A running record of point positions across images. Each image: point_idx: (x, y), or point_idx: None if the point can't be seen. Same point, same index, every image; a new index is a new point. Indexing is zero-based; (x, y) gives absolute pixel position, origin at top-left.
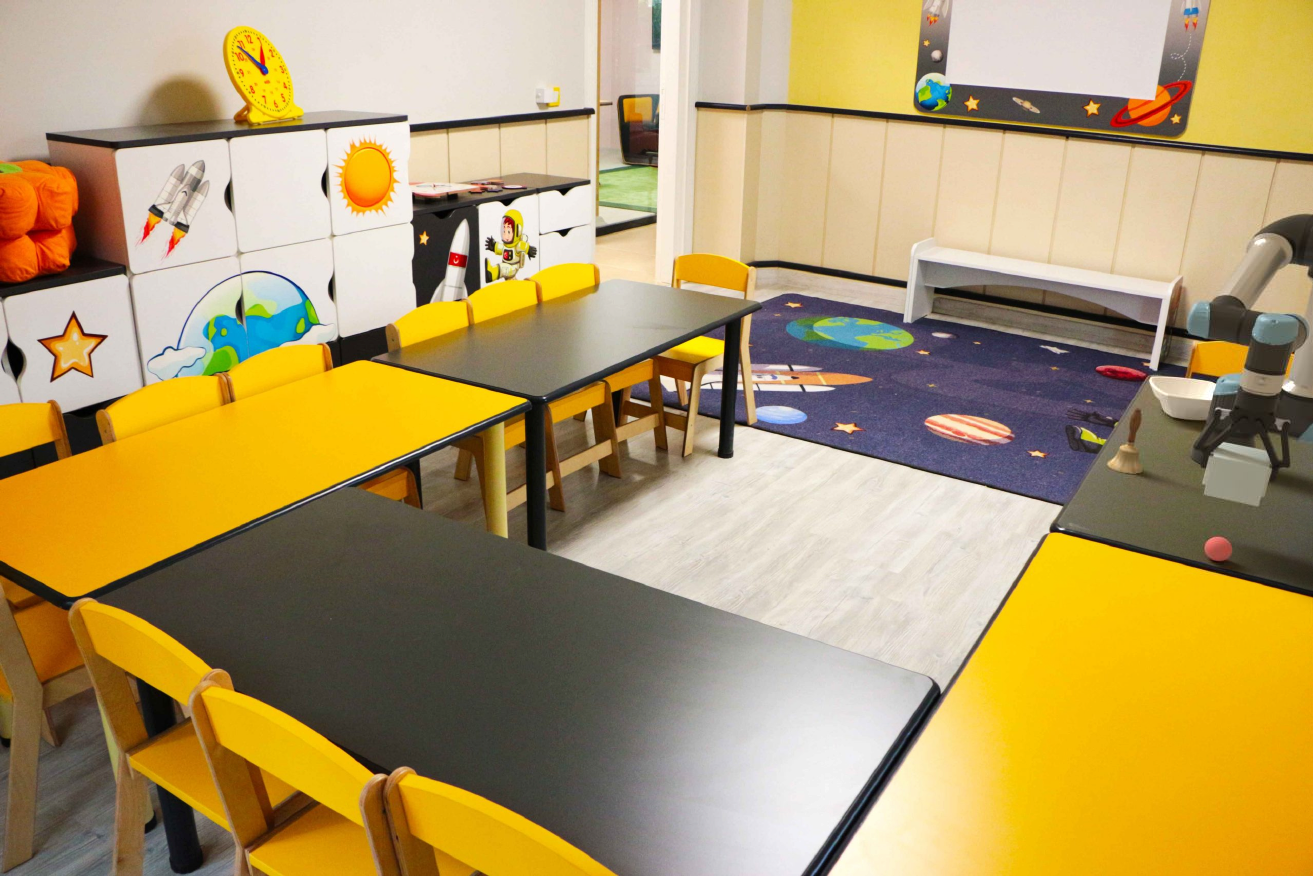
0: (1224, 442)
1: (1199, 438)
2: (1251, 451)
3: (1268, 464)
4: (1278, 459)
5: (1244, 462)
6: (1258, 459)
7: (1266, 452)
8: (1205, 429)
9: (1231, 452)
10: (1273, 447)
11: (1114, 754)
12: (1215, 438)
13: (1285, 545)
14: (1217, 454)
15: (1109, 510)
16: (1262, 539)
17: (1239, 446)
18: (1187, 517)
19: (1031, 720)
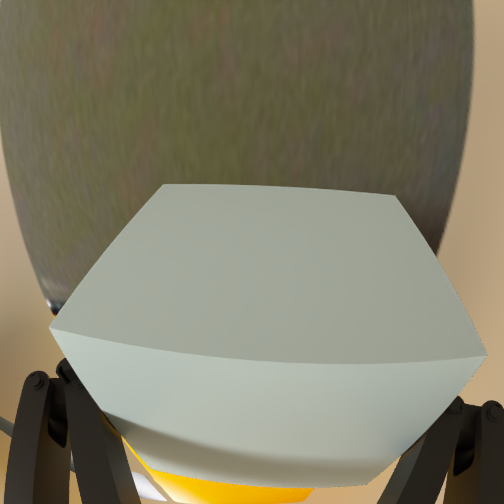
0: (97, 339)
1: (18, 407)
2: (326, 421)
3: (374, 475)
4: (458, 428)
5: (271, 486)
6: (342, 467)
7: (441, 391)
8: (8, 464)
9: (200, 449)
10: (430, 501)
11: (229, 491)
12: (75, 455)
13: (432, 152)
14: (154, 461)
15: (50, 184)
16: (385, 141)
17: (230, 378)
18: (190, 98)
19: (189, 484)
